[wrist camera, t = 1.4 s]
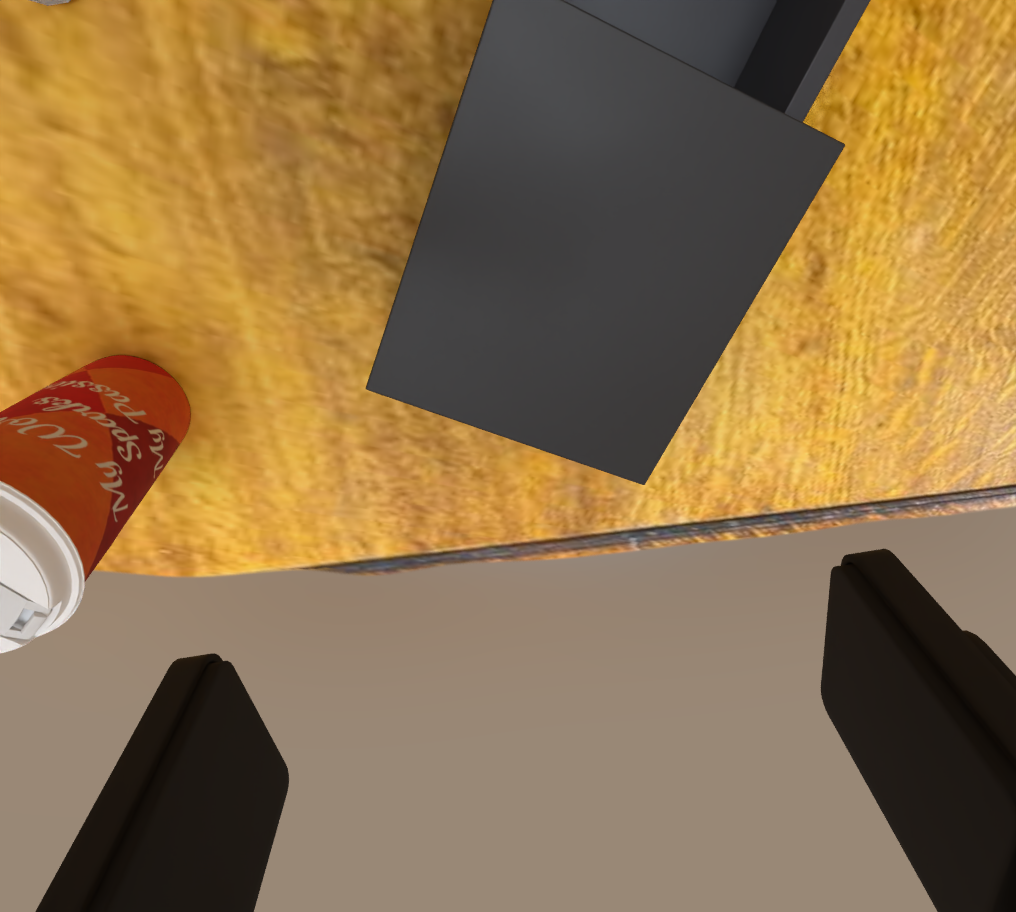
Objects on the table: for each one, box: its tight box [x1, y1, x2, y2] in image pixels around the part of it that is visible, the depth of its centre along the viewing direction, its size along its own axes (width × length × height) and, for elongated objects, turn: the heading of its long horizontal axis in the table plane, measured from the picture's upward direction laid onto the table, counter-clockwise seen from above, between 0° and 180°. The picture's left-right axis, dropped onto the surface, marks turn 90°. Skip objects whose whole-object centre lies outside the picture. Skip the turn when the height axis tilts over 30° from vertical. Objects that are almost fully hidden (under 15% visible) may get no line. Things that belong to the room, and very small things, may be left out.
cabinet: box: [366, 0, 845, 485], centre depth 28 cm, size 15×13×10 cm
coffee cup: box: [0, 355, 190, 653], centre depth 29 cm, size 8×8×15 cm
